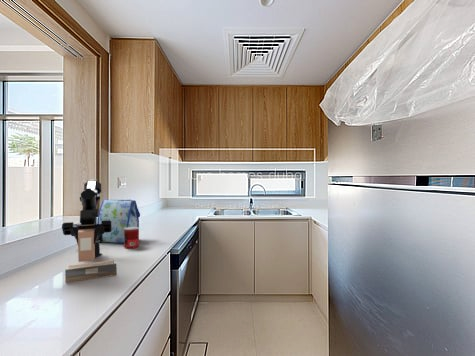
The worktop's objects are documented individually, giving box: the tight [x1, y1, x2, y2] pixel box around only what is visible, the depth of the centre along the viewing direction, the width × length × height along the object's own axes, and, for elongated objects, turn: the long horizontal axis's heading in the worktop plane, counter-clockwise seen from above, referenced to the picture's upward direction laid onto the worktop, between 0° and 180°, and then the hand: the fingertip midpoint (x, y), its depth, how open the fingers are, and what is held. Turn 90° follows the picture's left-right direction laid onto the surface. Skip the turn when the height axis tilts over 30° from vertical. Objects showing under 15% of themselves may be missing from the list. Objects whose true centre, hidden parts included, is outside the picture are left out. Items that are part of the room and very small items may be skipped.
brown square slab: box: [64, 259, 117, 283], centre depth 123 cm, size 18×18×4 cm
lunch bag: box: [97, 199, 141, 244], centre depth 185 cm, size 22×17×26 cm
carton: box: [77, 229, 96, 263], centre depth 122 cm, size 6×6×12 cm
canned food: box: [123, 226, 140, 249], centre depth 168 cm, size 8×8×11 cm
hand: (86, 244), depth 121 cm, fingers closed on carton, 5 cm apart
